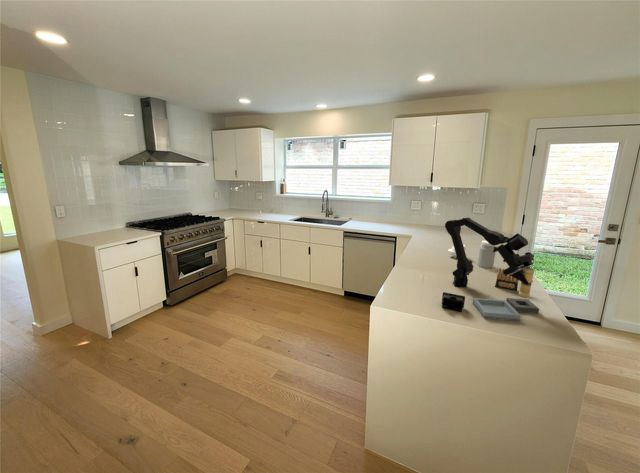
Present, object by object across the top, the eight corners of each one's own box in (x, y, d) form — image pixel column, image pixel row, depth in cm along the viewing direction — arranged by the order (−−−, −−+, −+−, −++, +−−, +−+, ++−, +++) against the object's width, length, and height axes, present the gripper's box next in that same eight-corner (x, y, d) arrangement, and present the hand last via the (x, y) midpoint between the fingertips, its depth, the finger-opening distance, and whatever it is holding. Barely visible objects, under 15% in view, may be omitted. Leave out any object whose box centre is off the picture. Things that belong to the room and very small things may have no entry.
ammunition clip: (494, 287, 166) (498, 267, 163) (495, 286, 167) (498, 266, 165) (517, 291, 160) (520, 271, 157) (516, 290, 162) (520, 270, 159)
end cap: (463, 307, 142) (465, 294, 140) (463, 313, 136) (464, 300, 134) (442, 302, 146) (443, 290, 145) (440, 308, 140) (441, 295, 139)
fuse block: (515, 311, 137) (516, 306, 137) (505, 302, 147) (506, 297, 146) (538, 313, 136) (539, 308, 135) (527, 304, 145) (528, 299, 145)
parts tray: (483, 318, 131) (484, 312, 130) (472, 303, 145) (473, 297, 145) (519, 321, 129) (520, 315, 128) (504, 305, 143) (505, 300, 142)
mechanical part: (444, 256, 224) (446, 241, 221) (455, 254, 229) (457, 240, 226) (456, 260, 214) (458, 245, 211) (467, 258, 219) (469, 243, 216)
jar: (488, 264, 205) (492, 240, 201) (495, 269, 196) (499, 243, 191) (474, 263, 206) (478, 239, 202) (480, 268, 196) (484, 243, 192)
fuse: (521, 297, 138) (526, 270, 135) (516, 293, 142) (522, 267, 139) (530, 298, 137) (536, 270, 134) (526, 294, 141) (531, 267, 138)
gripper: (514, 249, 132) (537, 280, 126) (532, 244, 142) (554, 272, 136) (493, 261, 141) (514, 290, 134) (512, 255, 151) (532, 282, 144)
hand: (529, 283), depth 137 cm, fingers closed on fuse, 4 cm apart
